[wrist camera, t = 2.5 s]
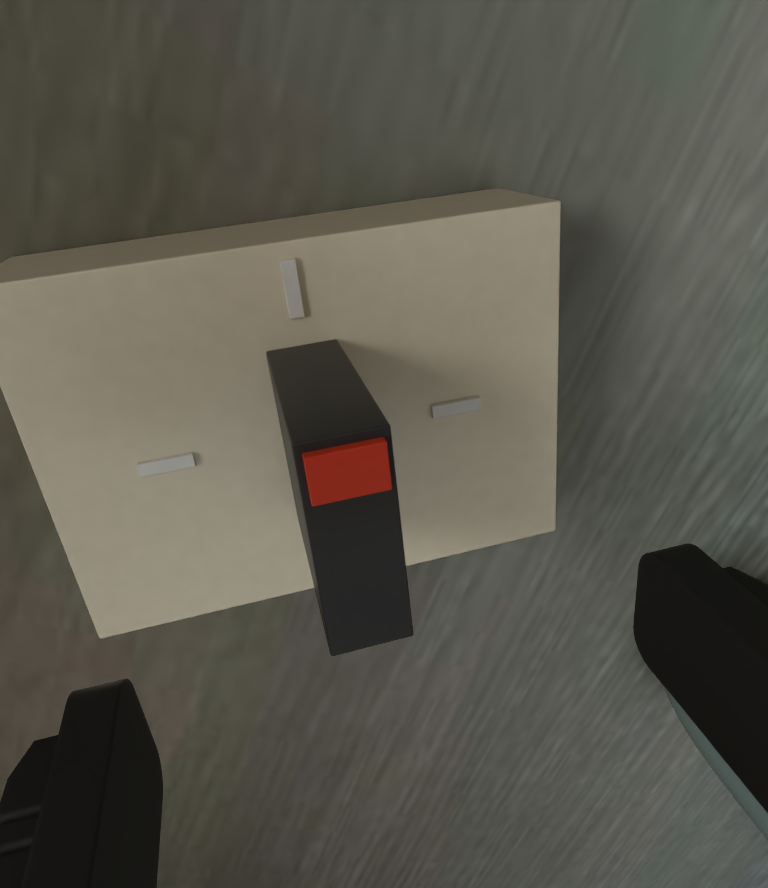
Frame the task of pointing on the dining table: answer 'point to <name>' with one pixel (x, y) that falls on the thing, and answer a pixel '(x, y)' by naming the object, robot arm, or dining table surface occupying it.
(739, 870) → the dining table surface
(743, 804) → the cup
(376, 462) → the knob
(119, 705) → the robot arm
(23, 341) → the panel
